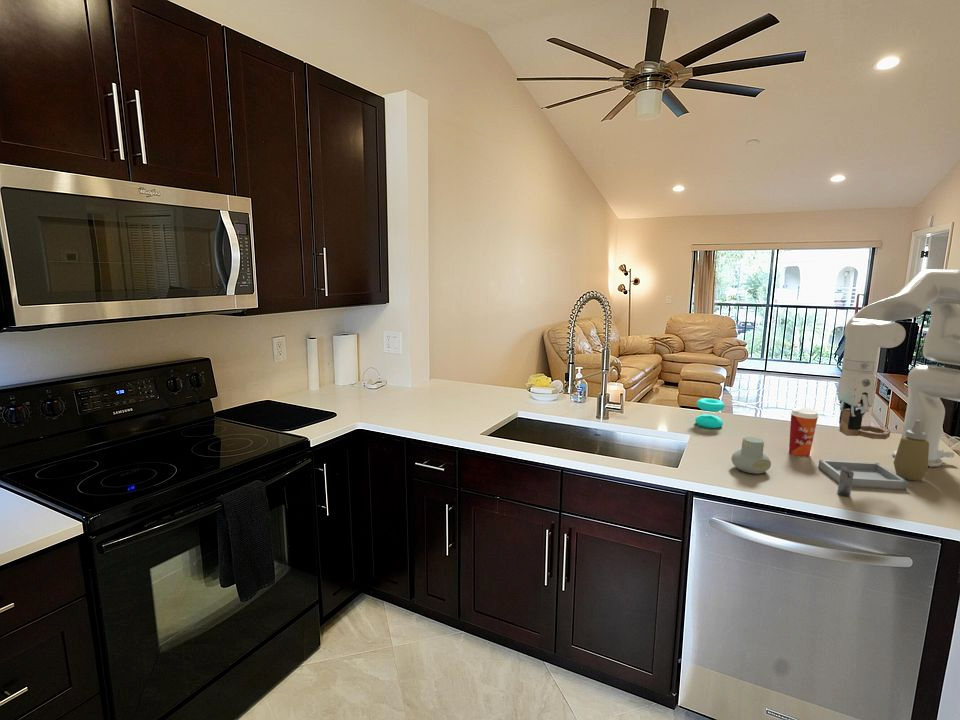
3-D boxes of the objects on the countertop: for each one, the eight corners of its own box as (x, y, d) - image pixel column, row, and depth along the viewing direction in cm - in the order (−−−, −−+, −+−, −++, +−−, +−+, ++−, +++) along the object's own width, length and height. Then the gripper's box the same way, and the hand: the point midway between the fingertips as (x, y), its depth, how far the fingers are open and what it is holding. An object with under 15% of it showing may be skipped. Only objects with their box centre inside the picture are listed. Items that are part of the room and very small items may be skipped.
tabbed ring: (877, 430, 155) (880, 407, 154) (894, 439, 147) (898, 416, 146) (835, 428, 157) (838, 406, 155) (850, 438, 149) (853, 414, 147)
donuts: (701, 396, 210) (727, 400, 204) (698, 419, 212) (725, 424, 206) (694, 401, 203) (721, 405, 197) (692, 425, 204) (719, 430, 199)
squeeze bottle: (910, 471, 161) (919, 416, 158) (933, 482, 153) (943, 424, 150) (884, 472, 161) (894, 416, 158) (906, 483, 153) (916, 424, 150)
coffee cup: (799, 458, 171) (805, 415, 168) (779, 450, 179) (784, 408, 176) (819, 456, 173) (826, 413, 170) (799, 447, 181) (804, 406, 178)
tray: (877, 470, 162) (878, 463, 162) (906, 490, 148) (907, 481, 148) (818, 467, 164) (819, 459, 164) (841, 485, 151) (843, 477, 150)
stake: (845, 491, 147) (849, 466, 146) (853, 498, 143) (857, 473, 142) (833, 490, 148) (837, 466, 146) (842, 497, 143) (845, 472, 142)
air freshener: (745, 477, 156) (749, 445, 154) (725, 466, 164) (728, 436, 162) (774, 473, 159) (778, 442, 157) (753, 463, 167) (757, 433, 165)
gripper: (891, 372, 140) (880, 437, 143) (856, 360, 156) (847, 418, 160) (860, 371, 141) (851, 435, 144) (829, 359, 157) (821, 417, 161)
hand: (849, 426), depth 152 cm, fingers closed on tabbed ring, 3 cm apart
